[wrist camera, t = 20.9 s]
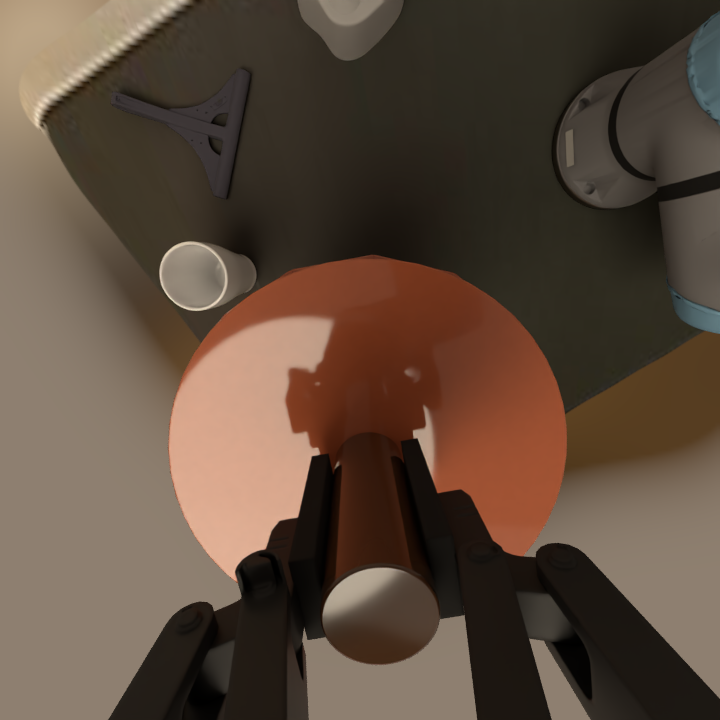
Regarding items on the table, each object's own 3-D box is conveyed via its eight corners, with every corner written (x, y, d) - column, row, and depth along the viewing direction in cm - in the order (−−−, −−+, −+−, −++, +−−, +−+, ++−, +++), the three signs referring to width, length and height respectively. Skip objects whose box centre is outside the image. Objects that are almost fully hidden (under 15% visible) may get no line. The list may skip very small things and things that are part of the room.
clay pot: (449, 244, 35) (755, 174, 8) (473, 442, 39) (728, 816, 12) (237, 283, 35) (-115, 334, 9) (284, 474, 39) (141, 900, 13)
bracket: (128, 38, 47) (114, 24, 45) (252, 77, 48) (246, 66, 46) (111, 166, 51) (97, 160, 48) (228, 200, 52) (221, 196, 49)
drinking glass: (226, 307, 55) (178, 322, 40) (203, 259, 53) (145, 257, 38) (271, 287, 54) (240, 295, 39) (249, 239, 53) (208, 228, 38)
